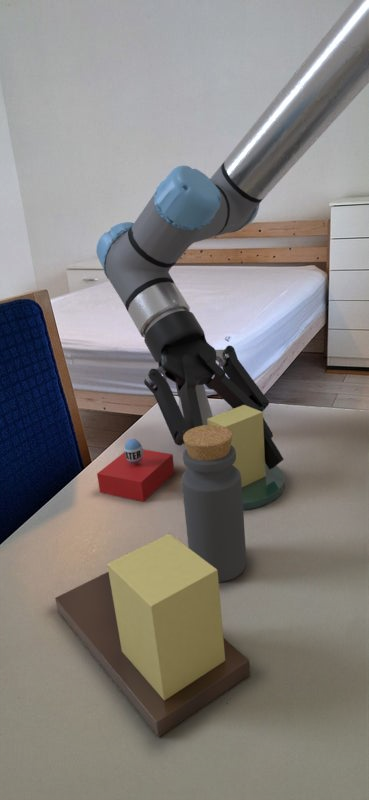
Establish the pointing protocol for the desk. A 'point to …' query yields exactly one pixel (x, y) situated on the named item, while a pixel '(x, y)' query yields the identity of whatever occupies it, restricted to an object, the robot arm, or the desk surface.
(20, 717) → the desk surface
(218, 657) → the butter block
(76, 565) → the desk surface
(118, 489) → the red box
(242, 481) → the yellow rectangular block
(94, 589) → the butter board
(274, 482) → the plate
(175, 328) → the robot arm
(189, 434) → the bottle
